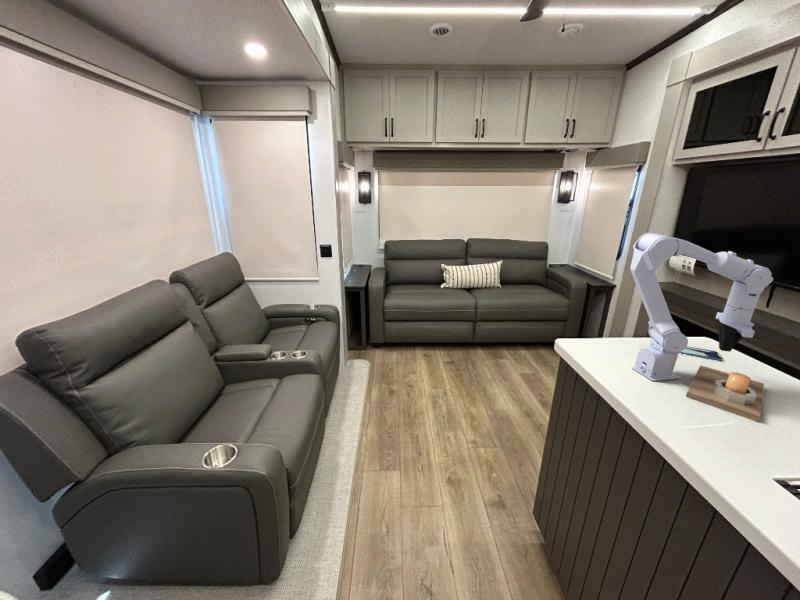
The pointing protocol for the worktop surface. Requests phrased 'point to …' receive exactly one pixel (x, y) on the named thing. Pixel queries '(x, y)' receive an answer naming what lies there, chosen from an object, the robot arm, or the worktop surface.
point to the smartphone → (702, 353)
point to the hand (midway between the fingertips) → (724, 350)
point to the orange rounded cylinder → (737, 382)
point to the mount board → (704, 393)
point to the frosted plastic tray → (734, 394)
